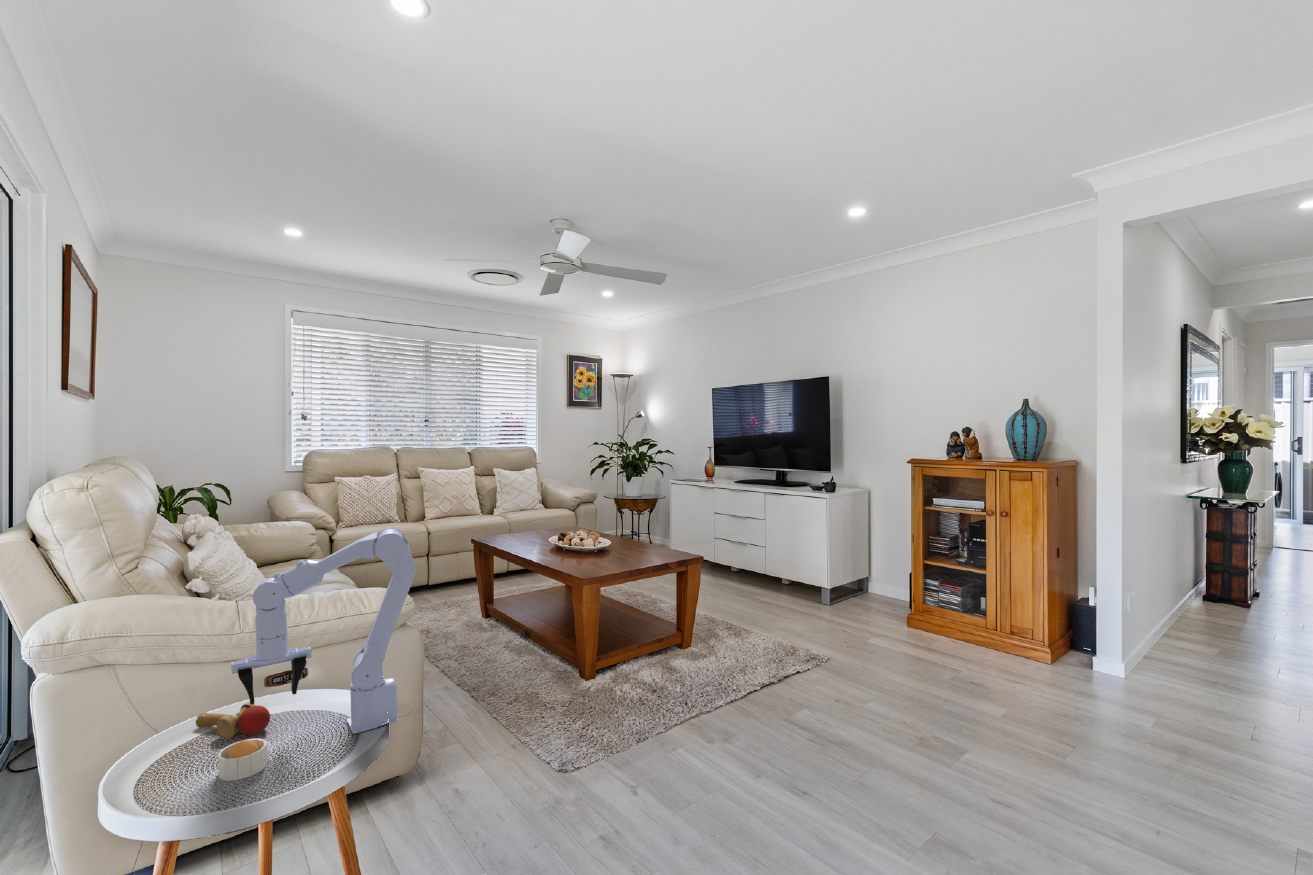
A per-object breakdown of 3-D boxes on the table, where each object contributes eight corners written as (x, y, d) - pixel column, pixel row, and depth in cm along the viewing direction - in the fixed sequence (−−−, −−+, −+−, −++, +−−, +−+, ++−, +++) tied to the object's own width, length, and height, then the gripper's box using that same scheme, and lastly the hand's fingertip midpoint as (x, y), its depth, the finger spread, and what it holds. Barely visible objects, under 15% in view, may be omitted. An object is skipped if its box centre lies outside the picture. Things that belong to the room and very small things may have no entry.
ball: (257, 757, 125) (257, 733, 125) (259, 768, 121) (259, 743, 121) (227, 765, 122) (227, 740, 122) (228, 776, 118) (228, 750, 118)
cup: (265, 753, 127) (265, 734, 127) (269, 770, 120) (268, 750, 120) (218, 766, 122) (217, 747, 122) (219, 785, 115) (218, 764, 115)
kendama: (182, 742, 135) (248, 739, 130) (184, 711, 136) (248, 708, 132) (216, 731, 142) (279, 729, 138) (217, 702, 143) (279, 699, 139)
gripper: (307, 623, 139) (309, 682, 139) (230, 637, 130) (231, 700, 131) (312, 631, 133) (313, 693, 134) (231, 646, 125) (233, 712, 125)
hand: (273, 697), depth 132 cm, fingers open, 7 cm apart
